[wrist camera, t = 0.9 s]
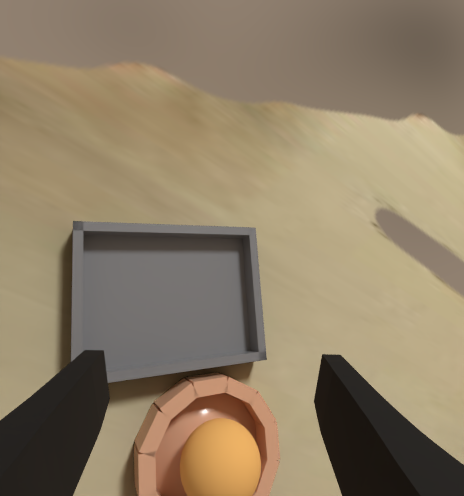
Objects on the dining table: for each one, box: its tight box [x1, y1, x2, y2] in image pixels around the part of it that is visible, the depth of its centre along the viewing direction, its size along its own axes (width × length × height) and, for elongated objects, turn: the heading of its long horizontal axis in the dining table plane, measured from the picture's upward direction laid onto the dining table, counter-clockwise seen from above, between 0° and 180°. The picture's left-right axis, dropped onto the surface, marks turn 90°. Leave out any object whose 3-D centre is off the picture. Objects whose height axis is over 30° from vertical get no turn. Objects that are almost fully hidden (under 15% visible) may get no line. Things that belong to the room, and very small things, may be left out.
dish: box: [134, 372, 280, 496], centre depth 22 cm, size 10×10×2 cm
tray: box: [71, 221, 267, 383], centre depth 24 cm, size 10×13×2 cm
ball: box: [180, 418, 261, 496], centre depth 21 cm, size 5×5×5 cm
